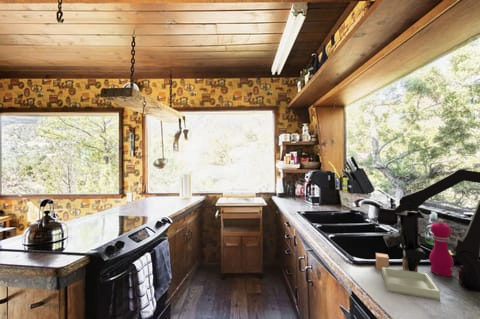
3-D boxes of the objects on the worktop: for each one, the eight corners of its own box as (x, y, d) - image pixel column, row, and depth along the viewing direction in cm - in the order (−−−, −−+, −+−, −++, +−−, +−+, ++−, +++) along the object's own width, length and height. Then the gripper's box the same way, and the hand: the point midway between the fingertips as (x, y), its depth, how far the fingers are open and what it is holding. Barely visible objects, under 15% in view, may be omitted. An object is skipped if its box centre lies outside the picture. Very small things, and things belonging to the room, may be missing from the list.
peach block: (387, 267, 99) (387, 254, 99) (388, 271, 96) (388, 257, 96) (375, 265, 101) (375, 253, 101) (377, 269, 97) (376, 256, 97)
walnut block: (414, 271, 95) (414, 258, 95) (417, 276, 91) (417, 262, 91) (402, 269, 97) (402, 256, 97) (404, 274, 93) (404, 260, 93)
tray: (426, 280, 88) (426, 273, 88) (440, 300, 75) (440, 291, 75) (382, 274, 93) (382, 267, 93) (388, 291, 80) (387, 283, 80)
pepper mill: (431, 274, 93) (430, 220, 93) (427, 267, 99) (426, 216, 100) (456, 278, 89) (455, 222, 90) (450, 270, 96) (450, 218, 96)
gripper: (381, 221, 106) (382, 258, 106) (388, 232, 89) (389, 276, 88) (412, 223, 102) (413, 262, 101) (426, 235, 84) (427, 282, 84)
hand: (409, 270), depth 94 cm, fingers closed on walnut block, 4 cm apart
